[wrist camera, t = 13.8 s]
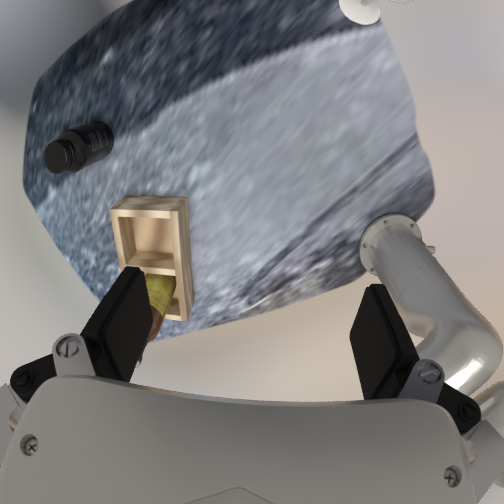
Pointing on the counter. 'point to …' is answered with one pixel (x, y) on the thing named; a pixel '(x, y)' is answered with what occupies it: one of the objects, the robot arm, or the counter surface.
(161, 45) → the counter surface
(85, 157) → the supplement bottle
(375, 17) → the champagne flute
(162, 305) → the sauce bottle
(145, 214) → the rail
